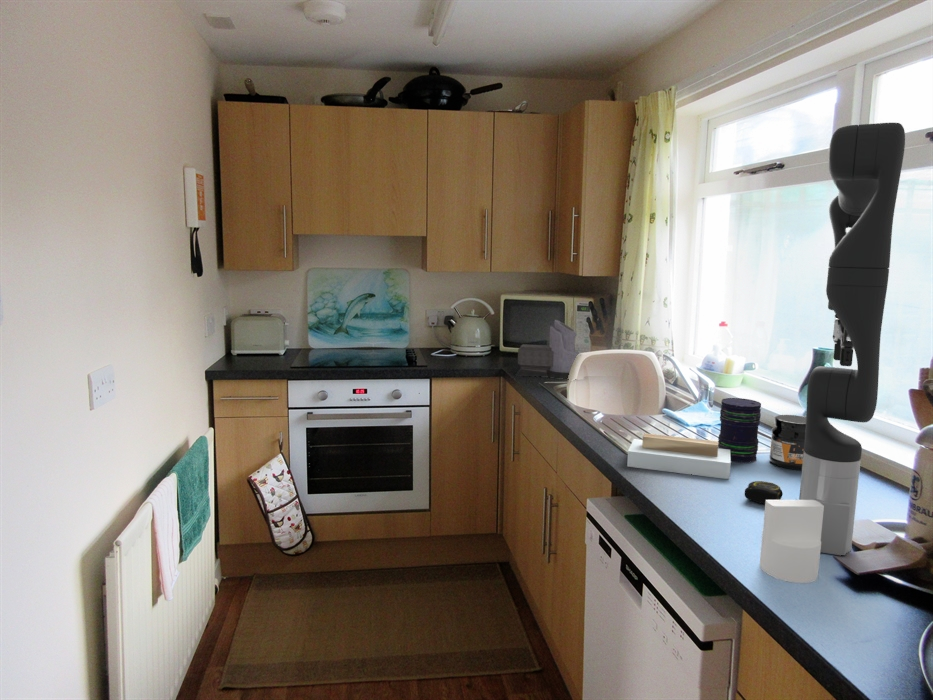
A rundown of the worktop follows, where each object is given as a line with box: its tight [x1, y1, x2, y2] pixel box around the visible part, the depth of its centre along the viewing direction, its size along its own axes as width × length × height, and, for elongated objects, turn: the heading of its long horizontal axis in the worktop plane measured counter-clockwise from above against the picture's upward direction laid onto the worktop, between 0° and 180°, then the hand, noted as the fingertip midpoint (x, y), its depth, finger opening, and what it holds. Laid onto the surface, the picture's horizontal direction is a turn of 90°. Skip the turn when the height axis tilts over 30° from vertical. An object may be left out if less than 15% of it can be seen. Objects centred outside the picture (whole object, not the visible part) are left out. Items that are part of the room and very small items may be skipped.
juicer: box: [514, 319, 580, 379], centre depth 289 cm, size 30×16×24 cm, turn 78°
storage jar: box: [717, 397, 762, 464], centre depth 177 cm, size 10×10×15 cm
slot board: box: [626, 438, 732, 480], centre depth 170 cm, size 12×24×4 cm, turn 69°
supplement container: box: [768, 414, 806, 471], centre depth 172 cm, size 10×10×12 cm
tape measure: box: [744, 480, 784, 505], centre depth 146 cm, size 7×7×4 cm
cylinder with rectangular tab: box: [759, 499, 824, 584], centre depth 114 cm, size 9×9×12 cm
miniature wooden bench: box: [642, 432, 719, 457], centre depth 169 cm, size 4×18×6 cm, turn 69°
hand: (842, 362), depth 147 cm, fingers open, 8 cm apart
